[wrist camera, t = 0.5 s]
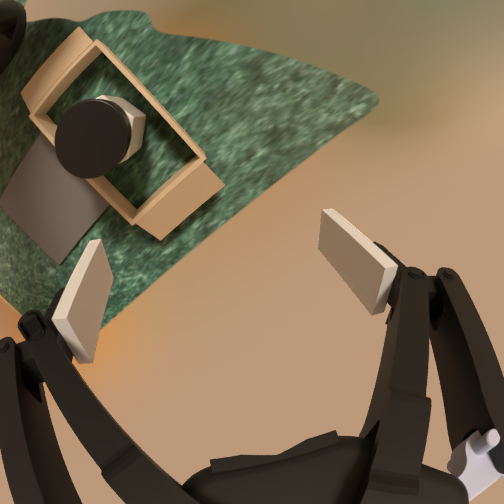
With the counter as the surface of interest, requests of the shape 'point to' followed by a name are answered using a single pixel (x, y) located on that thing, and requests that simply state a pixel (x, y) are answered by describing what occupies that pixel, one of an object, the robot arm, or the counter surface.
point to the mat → (51, 201)
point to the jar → (98, 136)
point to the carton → (146, 216)
